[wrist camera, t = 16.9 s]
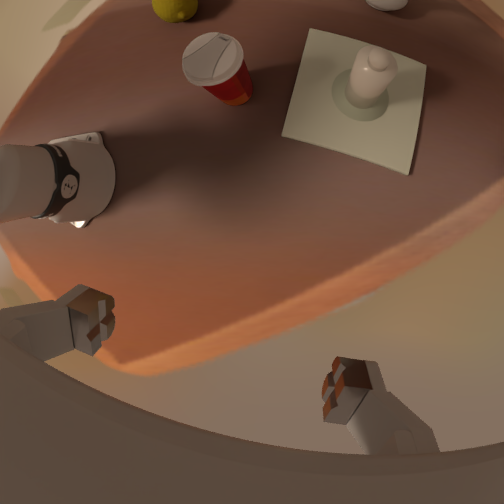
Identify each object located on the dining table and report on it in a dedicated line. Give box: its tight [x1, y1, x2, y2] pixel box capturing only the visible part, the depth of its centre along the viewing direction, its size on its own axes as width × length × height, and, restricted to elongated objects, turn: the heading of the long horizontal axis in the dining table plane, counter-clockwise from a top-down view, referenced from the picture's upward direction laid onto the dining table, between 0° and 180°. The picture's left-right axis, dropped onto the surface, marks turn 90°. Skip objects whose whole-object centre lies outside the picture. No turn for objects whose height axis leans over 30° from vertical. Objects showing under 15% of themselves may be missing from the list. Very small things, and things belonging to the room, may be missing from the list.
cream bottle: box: [345, 45, 398, 109], centre depth 31 cm, size 5×5×14 cm
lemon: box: [152, 0, 198, 23], centre depth 36 cm, size 11×8×8 cm
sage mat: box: [281, 28, 427, 175], centre depth 38 cm, size 20×20×1 cm
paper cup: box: [182, 32, 253, 106], centre depth 35 cm, size 8×8×14 cm
